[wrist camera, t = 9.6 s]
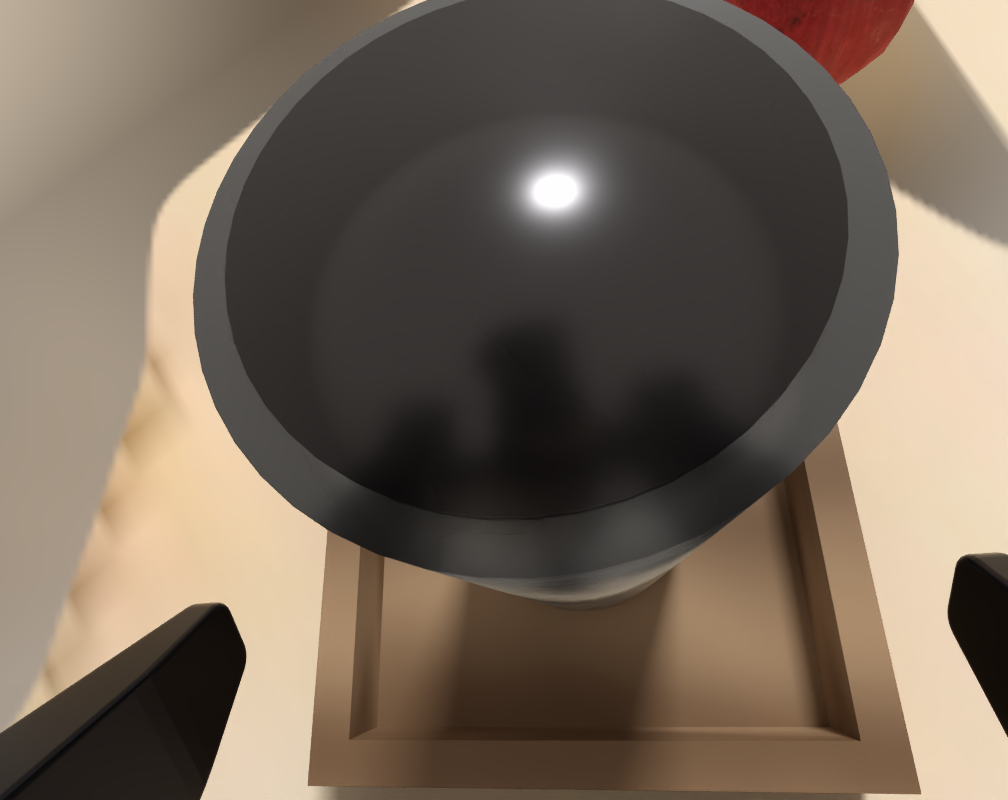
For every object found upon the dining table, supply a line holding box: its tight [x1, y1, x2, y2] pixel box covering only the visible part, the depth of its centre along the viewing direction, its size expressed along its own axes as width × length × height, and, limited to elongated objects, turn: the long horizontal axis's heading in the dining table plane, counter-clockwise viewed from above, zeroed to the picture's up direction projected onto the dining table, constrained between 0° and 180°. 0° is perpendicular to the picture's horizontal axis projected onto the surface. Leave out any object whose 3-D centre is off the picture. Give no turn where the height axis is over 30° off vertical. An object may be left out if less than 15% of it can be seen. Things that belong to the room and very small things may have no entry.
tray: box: [308, 423, 921, 794], centre depth 18 cm, size 14×14×3 cm
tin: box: [193, 0, 899, 611], centre depth 12 cm, size 6×6×14 cm
